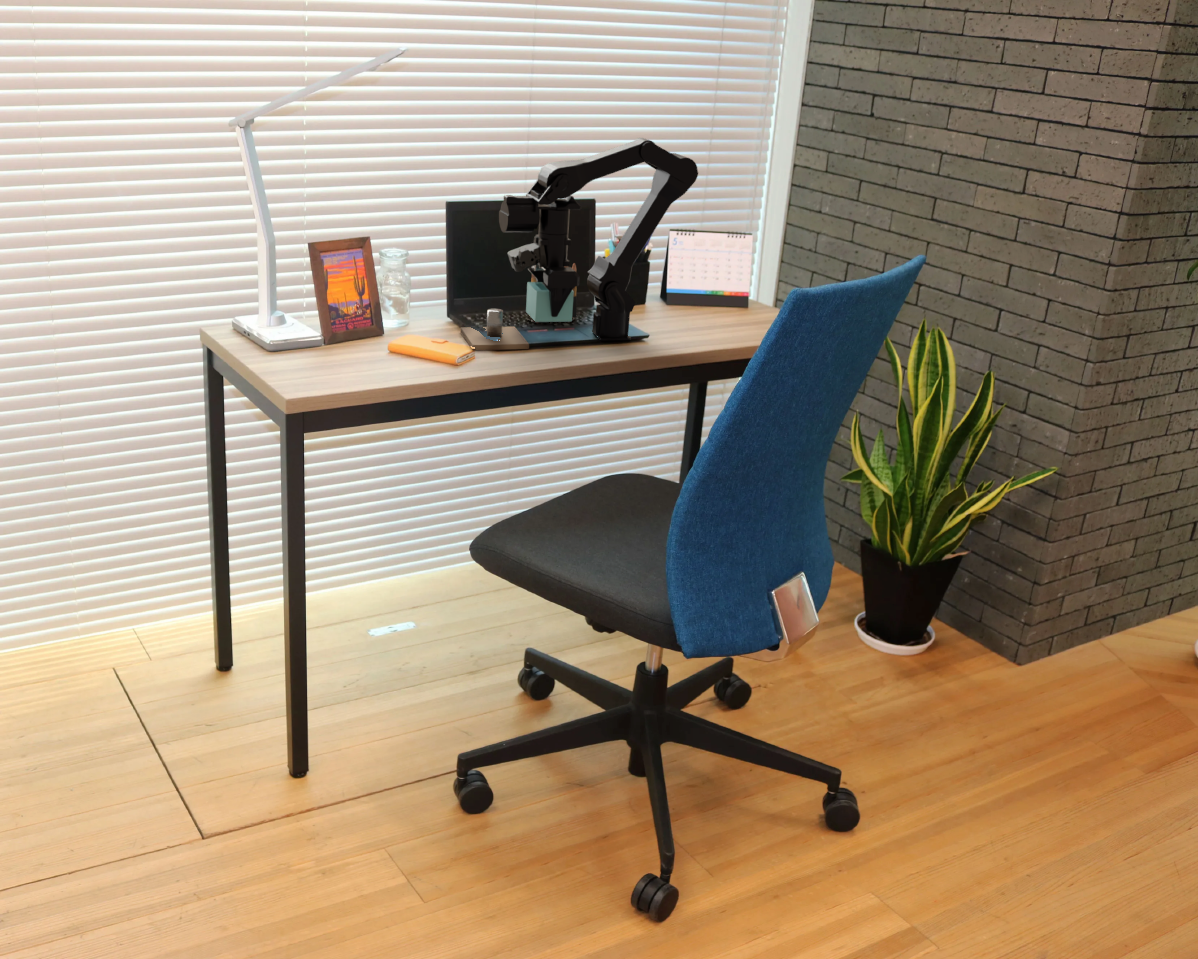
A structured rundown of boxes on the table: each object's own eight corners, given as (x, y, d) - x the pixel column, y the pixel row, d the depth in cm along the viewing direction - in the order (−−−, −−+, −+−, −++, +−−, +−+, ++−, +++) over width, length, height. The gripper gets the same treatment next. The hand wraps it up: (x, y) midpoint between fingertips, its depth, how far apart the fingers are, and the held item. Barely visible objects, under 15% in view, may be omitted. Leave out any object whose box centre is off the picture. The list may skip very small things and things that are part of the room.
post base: (514, 331, 232) (515, 302, 230) (528, 348, 221) (530, 318, 219) (460, 332, 229) (461, 302, 226) (472, 350, 218) (473, 319, 216)
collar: (561, 311, 231) (563, 282, 228) (571, 321, 224) (573, 291, 222) (525, 311, 229) (527, 282, 226) (535, 321, 222) (536, 291, 220)
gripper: (501, 221, 226) (498, 299, 232) (524, 242, 209) (520, 325, 215) (556, 222, 229) (551, 299, 235) (582, 242, 213) (577, 324, 219)
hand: (549, 311), depth 226 cm, fingers closed on collar, 7 cm apart
